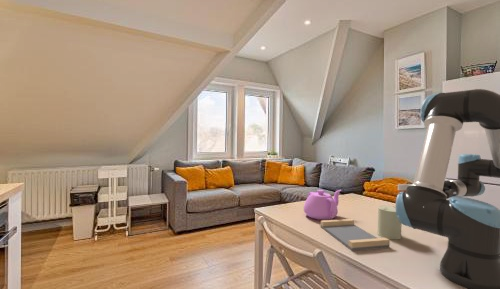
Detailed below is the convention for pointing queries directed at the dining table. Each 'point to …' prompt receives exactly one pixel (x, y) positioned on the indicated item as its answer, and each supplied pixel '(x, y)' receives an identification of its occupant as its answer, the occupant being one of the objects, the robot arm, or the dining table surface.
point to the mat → (353, 235)
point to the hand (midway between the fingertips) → (410, 190)
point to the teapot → (321, 205)
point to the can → (388, 223)
